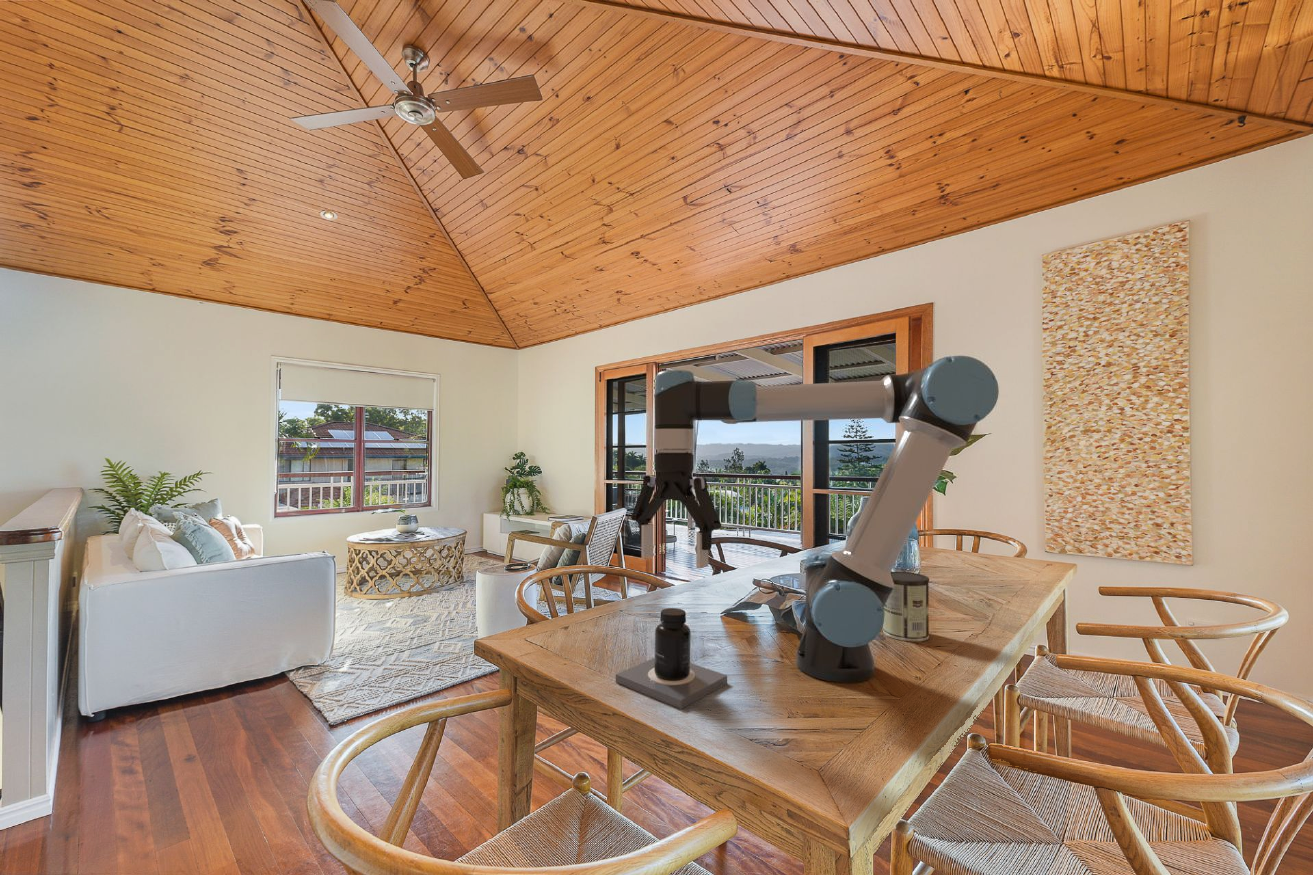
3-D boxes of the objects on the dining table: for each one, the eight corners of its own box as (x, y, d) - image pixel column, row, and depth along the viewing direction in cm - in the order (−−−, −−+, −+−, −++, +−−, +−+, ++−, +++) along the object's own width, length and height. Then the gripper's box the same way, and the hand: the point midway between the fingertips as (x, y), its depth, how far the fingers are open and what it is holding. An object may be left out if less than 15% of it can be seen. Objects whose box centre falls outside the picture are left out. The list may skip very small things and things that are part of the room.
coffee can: (898, 624, 142) (898, 569, 142) (937, 636, 133) (938, 577, 134) (873, 632, 136) (873, 574, 136) (913, 645, 128) (913, 583, 128)
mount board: (727, 683, 106) (727, 674, 106) (680, 708, 96) (680, 699, 96) (663, 660, 117) (663, 653, 117) (615, 682, 107) (615, 673, 107)
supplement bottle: (648, 678, 105) (649, 614, 105) (661, 665, 111) (662, 604, 111) (683, 684, 102) (684, 618, 102) (694, 670, 108) (695, 608, 109)
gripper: (739, 452, 102) (739, 568, 102) (639, 450, 119) (639, 550, 118) (716, 452, 97) (716, 575, 96) (614, 450, 113) (613, 556, 113)
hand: (673, 562), depth 107 cm, fingers open, 13 cm apart
